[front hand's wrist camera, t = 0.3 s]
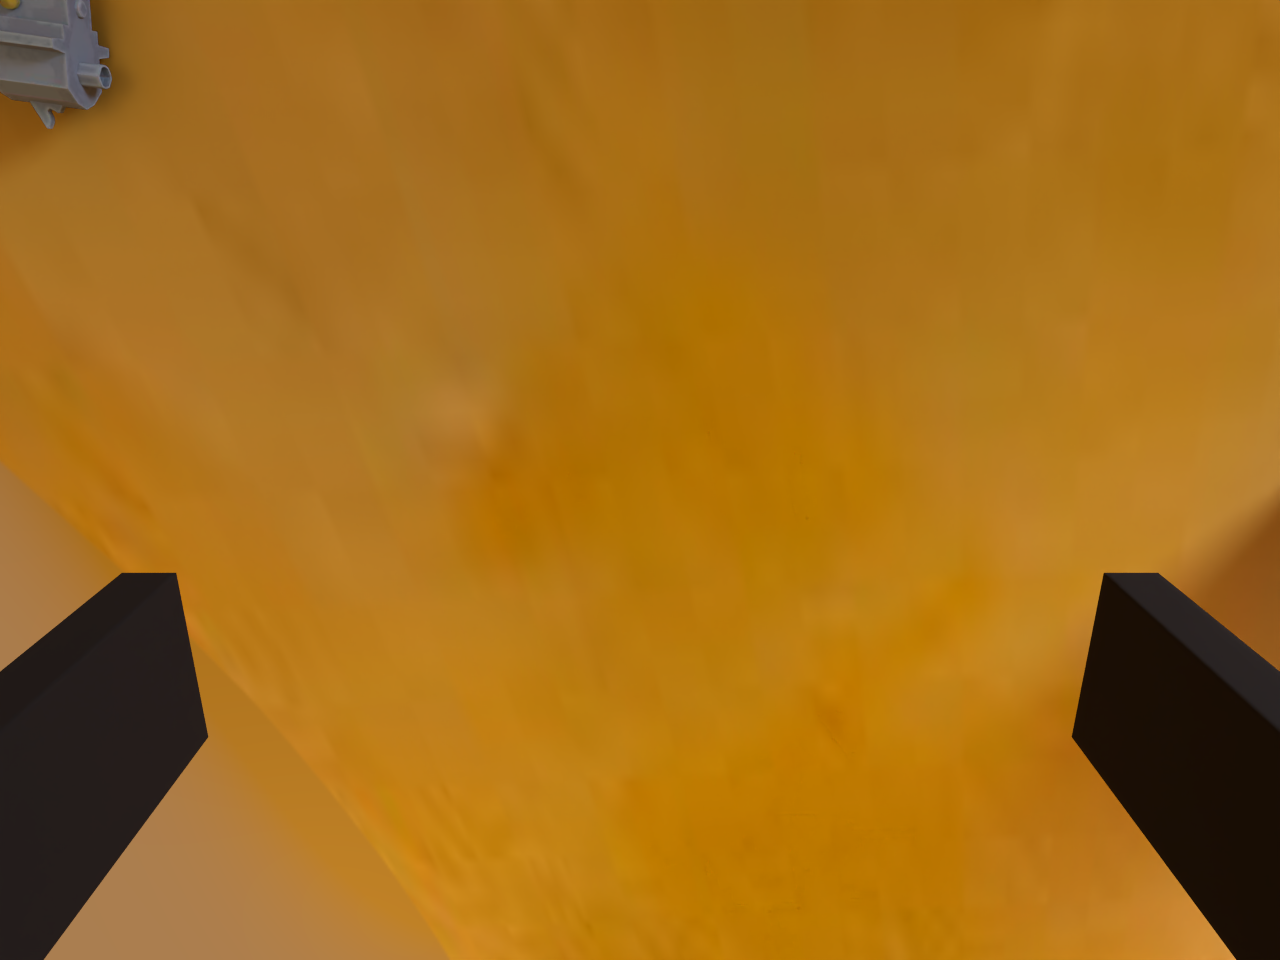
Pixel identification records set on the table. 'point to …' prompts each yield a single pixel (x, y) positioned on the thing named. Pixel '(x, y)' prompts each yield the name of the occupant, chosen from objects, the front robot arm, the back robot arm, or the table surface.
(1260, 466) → the table surface
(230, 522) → the table surface
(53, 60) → the toy gun
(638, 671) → the table surface
